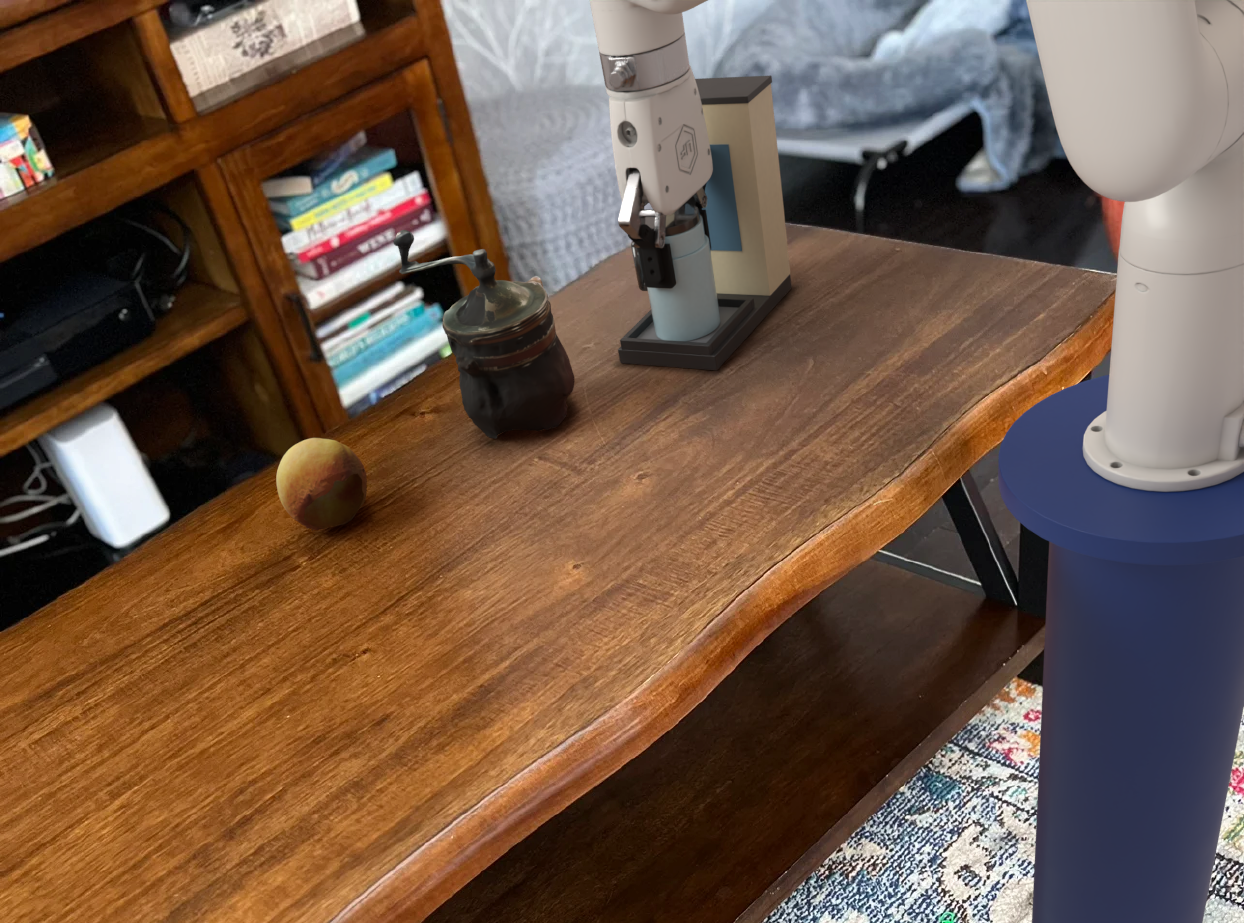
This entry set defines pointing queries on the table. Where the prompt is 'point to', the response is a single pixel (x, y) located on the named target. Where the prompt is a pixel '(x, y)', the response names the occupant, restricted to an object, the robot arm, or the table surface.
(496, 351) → the coffee grinder
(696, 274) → the carafe
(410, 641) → the table surface
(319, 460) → the fruit
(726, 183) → the coffee maker
